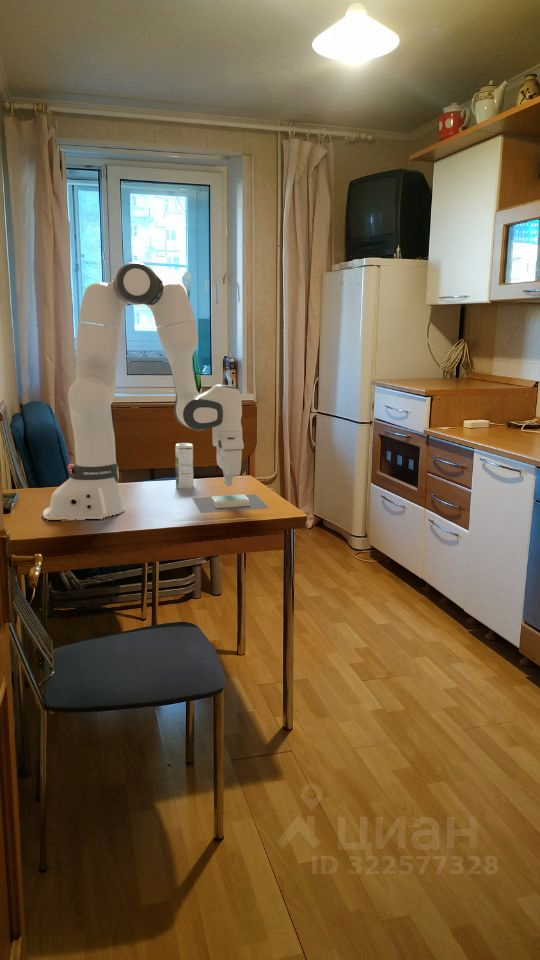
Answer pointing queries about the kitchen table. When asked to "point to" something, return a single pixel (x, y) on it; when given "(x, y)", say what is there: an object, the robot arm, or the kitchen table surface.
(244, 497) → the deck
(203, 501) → the mat
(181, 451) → the syrup box
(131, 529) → the kitchen table surface
